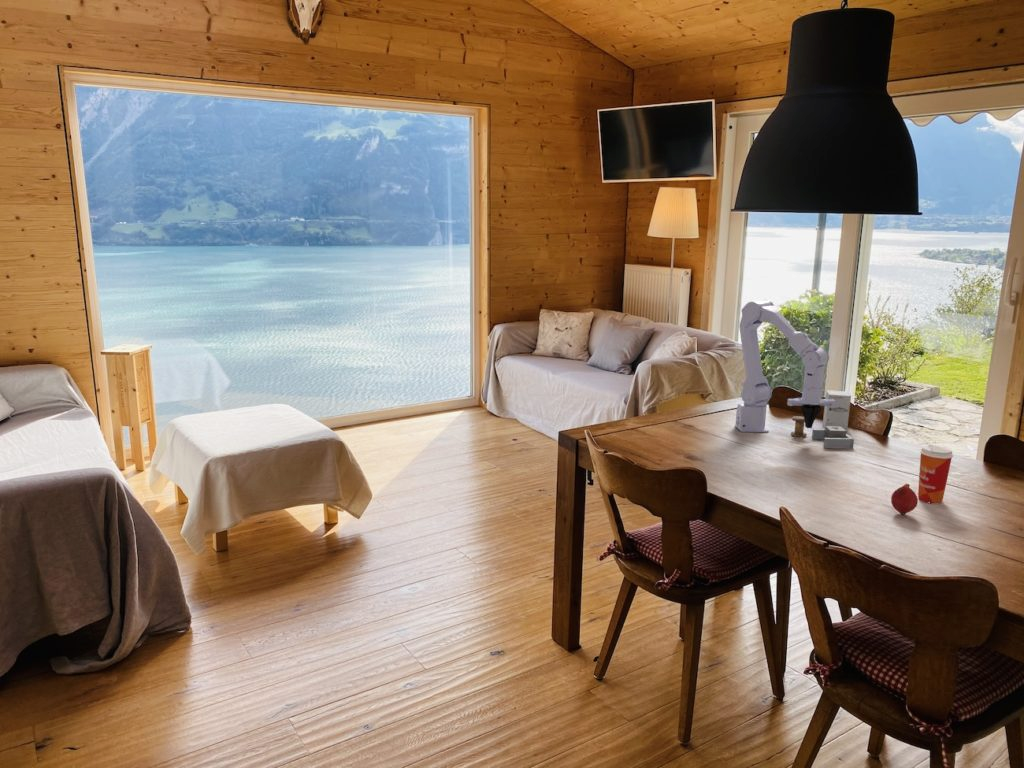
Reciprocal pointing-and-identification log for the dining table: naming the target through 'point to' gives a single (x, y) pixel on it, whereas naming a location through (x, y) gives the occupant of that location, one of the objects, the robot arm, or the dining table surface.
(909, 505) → the onion
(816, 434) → the notch block
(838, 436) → the dice cube
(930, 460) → the paper cup
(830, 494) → the dining table surface
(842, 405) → the supplement box
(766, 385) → the robot arm
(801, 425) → the bobbin
